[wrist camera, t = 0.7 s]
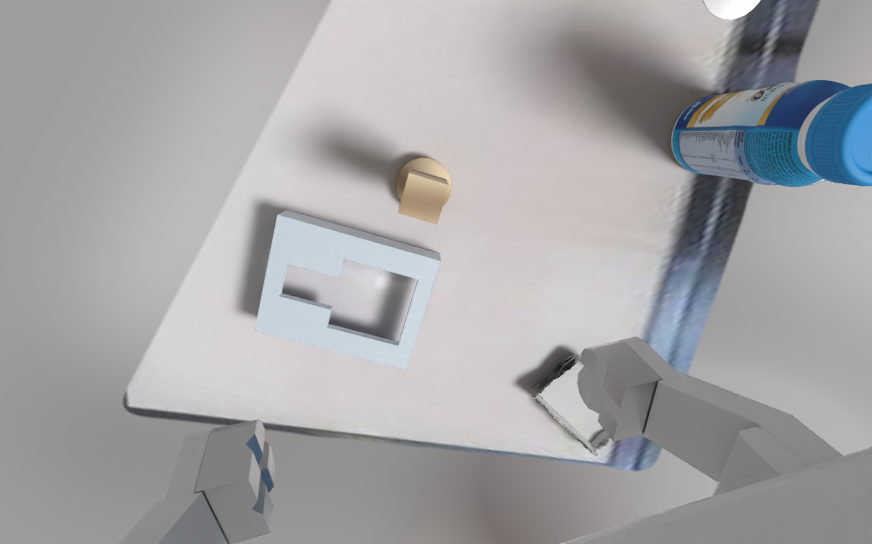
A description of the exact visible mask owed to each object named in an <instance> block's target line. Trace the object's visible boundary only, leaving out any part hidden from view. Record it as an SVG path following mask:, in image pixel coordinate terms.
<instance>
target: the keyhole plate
mask: <svg viewBox="0 0 872 544" xmlns="http://www.w3.org/2000/svg"><path fill="white" fill-rule="evenodd" d="M344 259H346V260H350V261H353V262H357V263H361V264H364V265H368V266H371V267H375V268H379V269H382V270H386V271H389V272H393V273H397V274H400V275H404V276H407V277H411V278H415V279H418V280H417V284H416V287H415V290H414V293H413V297H412V300H411V303H410V307H409V310H408V313H407V316H406V320H405V323H404V326H403V330H402V333H401V336H400V340H399V342H396V341H393V340H389V339H385V338H381V337H377V336H373V335H370V334H366V333H362V332H358V331H354V330H350V329H346V328H343V327H339V326H335V325H331V324H328V323H329V319H330V315H331V311H332V306H329V305H325V304H321V303H317V302H314V301H310V300H306V299H302V298H298V297H295V296H291V295H287V294H283V293H282V289H283V284H284V280H285V275H286V270H287V265H288V264H291V265H294V266H298V267H302V268H305V269H309V270H313V271H316V272H320V273H324V274H327V275H331V276H335V277H338V278H339V276H340V275H341V271H342V267H343V263H344ZM440 262H441V259H440V253H436V252H433V251H429V250H426V249H422V248H419V247H415V246H412V245H408V244H405V243H401V242H398V241H394V240H391V239H387V238H384V237H380V236H377V235H373V234H370V233H366V232H363V231H359V230H356V229H352V228H349V227H345V226H342V225H338V224H335V223H331V222H328V221H324V220H321V219H317V218H314V217H310V216H307V215H303V214H300V213H296V212H293V211H289V210H285V211H283V212H281V213H280V214H278V215H277V219H276V224H275V229H274V235H273V240H272V245H271V250H270V255H269V260H268V265H267V270H266V275H265V280H264V285H263V291H262V296H261V301H260V306H259V311H258V316H257V321H256V326H255V331H256V332H260V333H263V334H267V335H271V336H275V337H279V338H283V339H287V340H291V341H295V342H299V343H303V344H307V345H311V346H315V347H319V348H323V349H326V350H330V351H334V352H338V353H342V354H346V355H350V356H354V357H358V358H362V359H366V360H370V361H374V362H378V363H382V364H386V365H390V366H393V367H397V368H401V369H405V370H406V369H407V366H408V363H409V360H410V357H411V353H412V350H413V347H414V344H415V341H416V338H417V334H418V331H419V328H420V325H421V322H422V319H423V315H424V312H425V309H426V306H427V303H428V300H429V296H430V293H431V290H432V287H433V284H434V281H435V278H436V274H437V271H438V268H439V265H440Z"/></svg>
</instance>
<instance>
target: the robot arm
mask: <svg viewBox="0 0 872 544" xmlns="http://www.w3.org/2000/svg"><path fill="white" fill-rule="evenodd" d="M580 361H581V362H582V363H583V364H584V367H583V368H582V370H581V371H580V372H579V373H578V382H577V384H578V388H579V393H580V395H581V397H582V399H583V401H584V403H585V404H586V406H587V407H588V408H589V409H591V410H593V411H595V412H597V413H599V416H598V422H599V423H600V424H601V426H602V427H603V428H604V430H605V431H606V432H607V434H608V435H609V436H610V438H611V439H612V440H613V441H617V440H621V439H626V438H630V437H634V436H638V435H643V434H644V437H646V438H647V439H649V440H651V441H652V442H654V443H655V444H657V445H659V446H660V447H662V448H664V449H665V450H667V451H669V452H670V453H672V454H673V455H675V456H676V457H678V458H680V459H681V460H683V461H685V462H686V463H688V464H690V465H691V466H693V467H694V468H696V469H698V470H699V471H701V472H702V473H704V474H706V475H707V476H709V477H710V478H712V479H714V480H715V481H717V482H718V484H717V486H716V489H715V491H714V493H713V496H712V497H709V498H705V499H702V500H699V501H695V502H692V503H689V504H686V505H683V506H680V507H676V508H673V509H670V510H666V511H663V512H660V513H657V514H654V515H650V516H647V517H644V518H641V519H637V520H634V521H631V522H628V523H625V524H622V525H618V526H615V527H612V528H608V529H605V530H602V531H599V532H596V533H592V534H589V535H586V536H582V537H579V538H576V539H573V540H570V541H567V542H563V543H560V544H872V447H870V448H867V449H863V450H861V451H857V452H854V453H850V454H847V455H844V456H843V455H842V454H840V453H839V452H838V451H837V450H835V449H834V448H833V447H832V446H830V445H829V444H828V443H827V442H825V441H824V440H823V439H822V438H820V437H819V436H818V435H816V434H815V433H814V432H813V431H811V430H810V429H809V428H808V427H806V426H805V425H804V424H803V423H801V422H800V421H799V420H797V419H796V418H795V417H794V416H793V415H791V414H788V413H785V412H783V411H780V410H778V409H775V408H772V407H770V406H767V405H765V404H762V403H759V402H757V401H754V400H752V399H749V398H746V397H744V396H741V395H739V394H736V393H733V392H731V391H728V390H726V389H723V388H720V387H718V386H715V385H713V384H710V383H707V382H705V381H702V380H700V379H697V378H694V377H692V376H689V375H682V376H681V375H680V374H679V373H678V372H677V371H676V370H675V369H674V368H673V367H672V366H670V365H669V364H668V363H667V362H666V361H665V360H664V359H663V358H662V357H661V356H660V355H658V354H657V353H656V352H655V351H654V350H653V349H652V348H651V347H650V346H649V345H647V344H646V343H645V342H644V341H643V340H642V339H640V338H638V337H632V338H628V339H624V340H619V341H615V342H611V343H607V344H602V345H598V346H594V347H589V348H585V349H584V350H583V352H582V353H581V359H580ZM264 436H265V429H264V427H263V424H262V422H261V421H260V420H255V421H249V422H244V423H239V424H234V425H229V426H224V427H218V428H213V429H211V430H206V431H200V432H195V433H190V434H188V435H187V436H186V438H185V439H184V441H183V444H182V447H181V451H180V454H179V457H178V460H177V463H176V466H175V470H174V473H173V476H172V479H171V483H170V486H169V489H168V492H167V495H166V499H165V501H162V502H159V503H157V504H156V505H155V506H154V507H153V508H152V509H151V510H150V511H149V512H148V513H147V514H146V515H145V516H144V517H143V518H142V520H140V522H139V523H138V524H137V525H136V526H135V527H134V528H133V529H132V530H131V531H130V532H129V533H128V534H127V535H126V536H125V537H124V539H123V540H122V541H121V542H120V543H119V544H234V543H238V542H241V541H244V540H248V539H251V538H255V537H258V536H261V535H265V534H268V533H270V532H271V520H272V508H273V503H272V501H271V498H270V495H269V492H270V491H271V490H272V488H273V487H274V481H275V469H274V458H273V453H272V450H271V447H270V444H269V443H267V442H265V441H264Z"/></svg>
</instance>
